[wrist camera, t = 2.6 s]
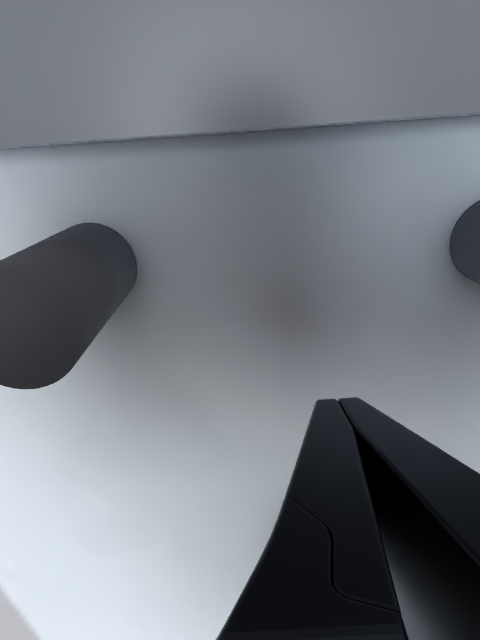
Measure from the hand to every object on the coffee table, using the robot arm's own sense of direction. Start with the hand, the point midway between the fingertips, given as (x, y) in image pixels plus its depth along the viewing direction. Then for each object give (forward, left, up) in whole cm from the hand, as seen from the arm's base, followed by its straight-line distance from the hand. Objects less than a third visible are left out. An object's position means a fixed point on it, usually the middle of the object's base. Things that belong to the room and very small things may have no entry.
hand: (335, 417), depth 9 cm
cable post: (+2, +7, -8) cm, 10 cm away
